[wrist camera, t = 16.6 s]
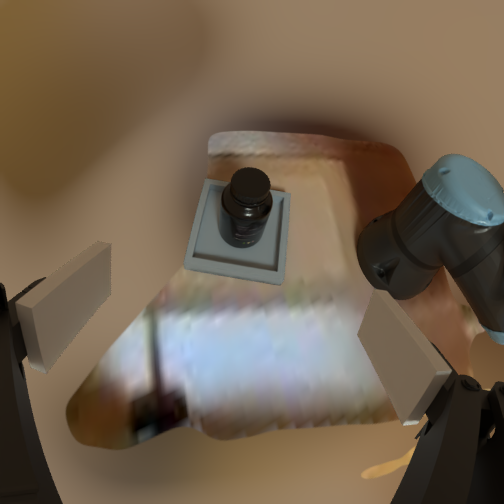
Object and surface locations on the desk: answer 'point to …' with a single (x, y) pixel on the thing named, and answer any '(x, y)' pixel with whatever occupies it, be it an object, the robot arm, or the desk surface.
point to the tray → (230, 258)
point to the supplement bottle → (245, 208)
